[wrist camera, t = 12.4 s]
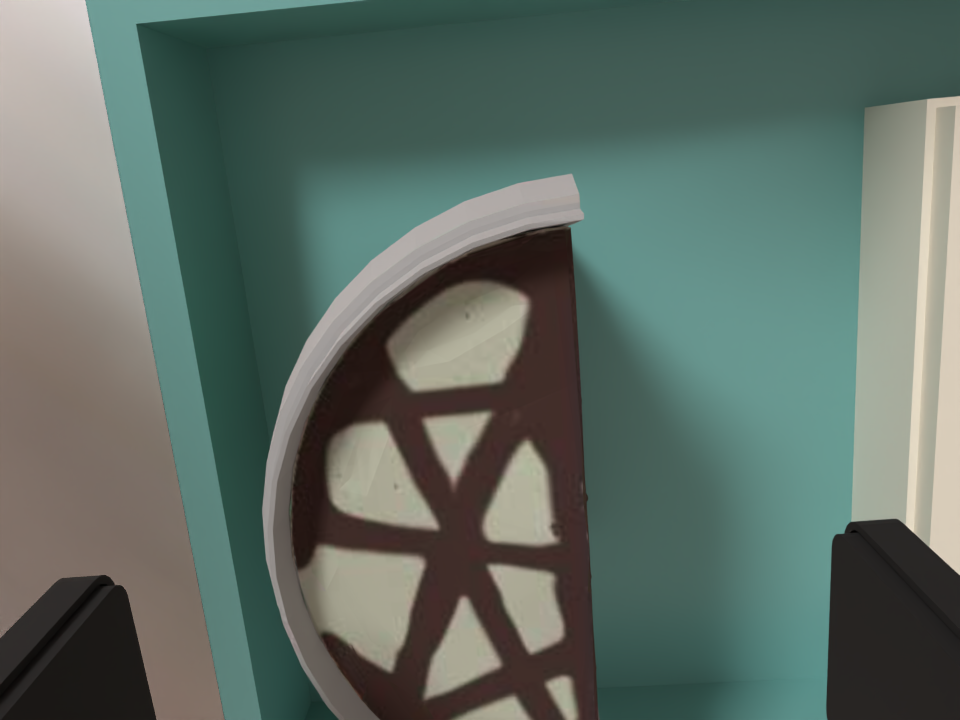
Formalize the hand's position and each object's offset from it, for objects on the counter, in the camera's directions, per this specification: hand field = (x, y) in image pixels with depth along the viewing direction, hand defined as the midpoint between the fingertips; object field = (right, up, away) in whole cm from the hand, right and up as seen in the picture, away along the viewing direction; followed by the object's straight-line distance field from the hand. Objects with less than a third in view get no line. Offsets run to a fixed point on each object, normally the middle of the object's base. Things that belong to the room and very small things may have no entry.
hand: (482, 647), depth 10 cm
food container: (-1, +3, +13) cm, 13 cm away
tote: (+6, +3, +13) cm, 15 cm away
